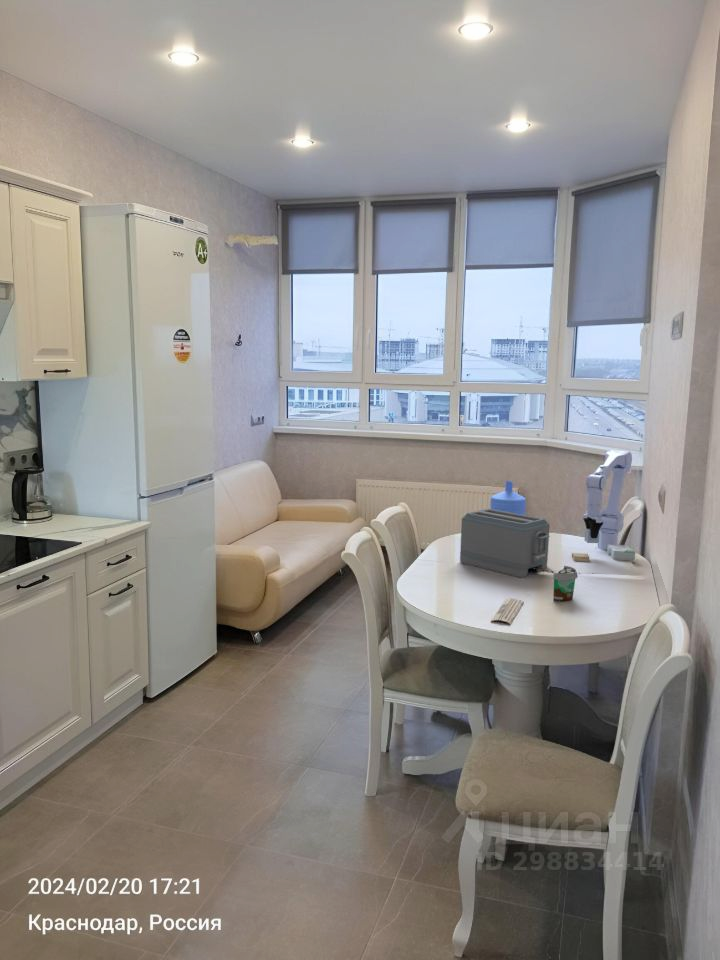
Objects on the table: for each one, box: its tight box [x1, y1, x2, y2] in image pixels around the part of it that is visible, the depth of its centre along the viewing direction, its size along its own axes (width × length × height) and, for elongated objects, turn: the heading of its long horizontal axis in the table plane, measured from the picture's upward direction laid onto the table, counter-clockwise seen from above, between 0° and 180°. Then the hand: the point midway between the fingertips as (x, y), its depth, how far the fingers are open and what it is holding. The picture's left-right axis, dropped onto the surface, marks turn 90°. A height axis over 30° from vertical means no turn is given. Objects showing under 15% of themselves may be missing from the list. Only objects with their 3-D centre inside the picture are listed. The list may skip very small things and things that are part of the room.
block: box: [584, 528, 599, 544], centre depth 299 cm, size 4×4×5 cm
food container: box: [552, 565, 578, 603], centre depth 248 cm, size 12×6×10 cm, turn 148°
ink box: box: [606, 544, 636, 564], centre depth 303 cm, size 9×5×12 cm
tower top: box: [571, 552, 590, 562], centre depth 296 cm, size 6×6×2 cm
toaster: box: [459, 508, 551, 579], centre depth 286 cm, size 19×33×20 cm, turn 44°
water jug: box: [489, 480, 527, 515], centre depth 325 cm, size 16×16×28 cm
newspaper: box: [490, 598, 524, 626], centre depth 234 cm, size 24×7×2 cm, turn 158°
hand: (591, 536), depth 299 cm, fingers closed on block, 4 cm apart
